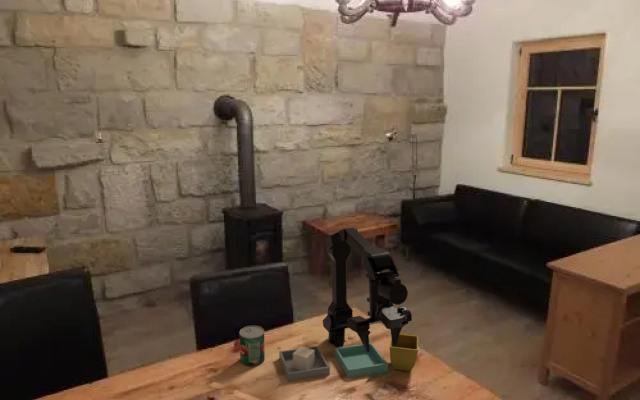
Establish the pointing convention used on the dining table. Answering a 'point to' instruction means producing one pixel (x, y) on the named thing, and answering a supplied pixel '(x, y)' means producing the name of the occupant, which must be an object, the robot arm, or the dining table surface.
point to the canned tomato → (252, 346)
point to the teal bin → (361, 361)
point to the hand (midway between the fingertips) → (381, 348)
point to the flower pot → (404, 352)
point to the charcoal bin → (294, 374)
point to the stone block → (303, 358)
